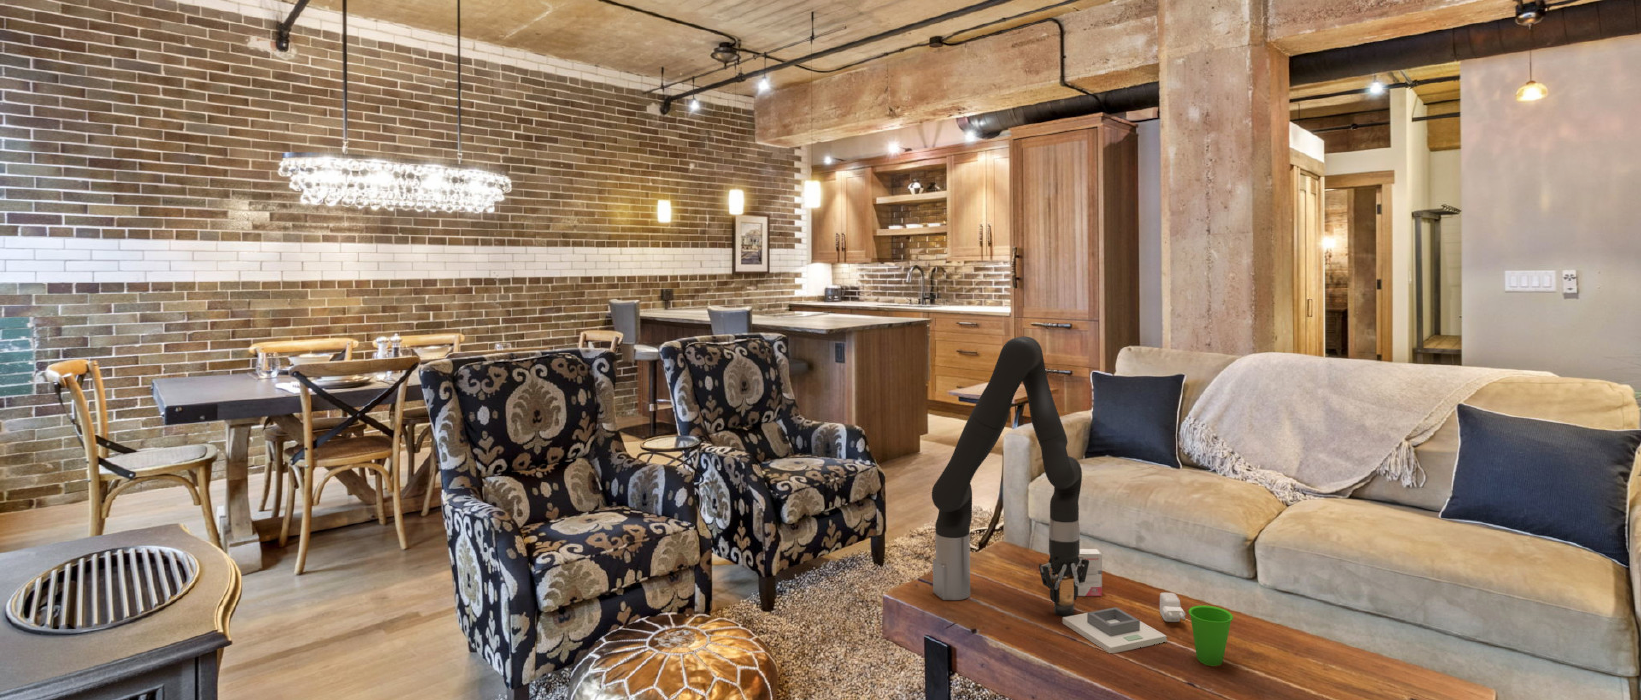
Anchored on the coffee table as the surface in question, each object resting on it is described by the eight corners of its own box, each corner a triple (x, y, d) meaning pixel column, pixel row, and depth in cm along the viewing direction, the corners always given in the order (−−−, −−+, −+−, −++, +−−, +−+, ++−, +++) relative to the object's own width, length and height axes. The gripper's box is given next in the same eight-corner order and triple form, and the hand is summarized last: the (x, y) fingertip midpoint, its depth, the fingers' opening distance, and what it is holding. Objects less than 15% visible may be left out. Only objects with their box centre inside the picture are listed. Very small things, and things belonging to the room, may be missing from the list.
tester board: (1110, 653, 189) (1110, 637, 189) (1062, 623, 206) (1062, 607, 206) (1166, 642, 195) (1166, 625, 194) (1115, 613, 211) (1115, 597, 211)
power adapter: (1189, 633, 199) (1189, 609, 199) (1167, 632, 200) (1168, 608, 199) (1176, 613, 210) (1177, 591, 210) (1156, 613, 211) (1157, 590, 210)
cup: (1229, 654, 188) (1230, 607, 187) (1234, 673, 179) (1236, 624, 178) (1185, 649, 191) (1186, 603, 190) (1189, 667, 182) (1190, 619, 181)
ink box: (1098, 589, 227) (1098, 547, 226) (1102, 596, 222) (1103, 554, 221) (1066, 589, 228) (1066, 547, 227) (1069, 596, 223) (1069, 553, 222)
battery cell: (1061, 618, 209) (1061, 579, 208) (1050, 611, 214) (1050, 573, 213) (1077, 615, 211) (1078, 577, 210) (1066, 608, 215) (1066, 570, 214)
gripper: (1078, 528, 216) (1078, 591, 218) (1031, 535, 211) (1031, 599, 213) (1097, 536, 209) (1096, 601, 211) (1048, 544, 204) (1048, 610, 206)
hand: (1063, 600), depth 212 cm, fingers closed on battery cell, 4 cm apart
